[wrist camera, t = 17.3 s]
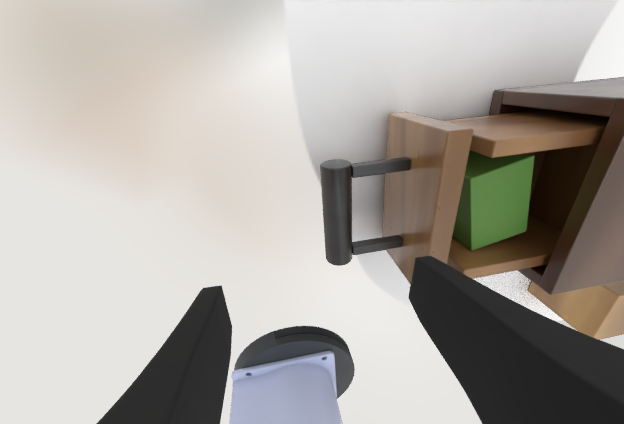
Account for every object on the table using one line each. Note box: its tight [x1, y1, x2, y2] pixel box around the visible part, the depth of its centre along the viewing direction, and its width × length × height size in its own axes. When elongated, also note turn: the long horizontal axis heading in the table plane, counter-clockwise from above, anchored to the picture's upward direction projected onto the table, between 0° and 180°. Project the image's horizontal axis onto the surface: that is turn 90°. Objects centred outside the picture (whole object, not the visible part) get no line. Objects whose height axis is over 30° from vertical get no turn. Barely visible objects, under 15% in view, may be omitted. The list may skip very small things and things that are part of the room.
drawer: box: [320, 109, 610, 284], centre depth 16 cm, size 16×9×6 cm, turn 94°
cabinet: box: [489, 77, 624, 295], centre depth 17 cm, size 13×11×8 cm
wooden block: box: [528, 280, 624, 340], centre depth 24 cm, size 6×5×6 cm
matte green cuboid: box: [453, 150, 535, 251], centre depth 16 cm, size 5×4×3 cm
